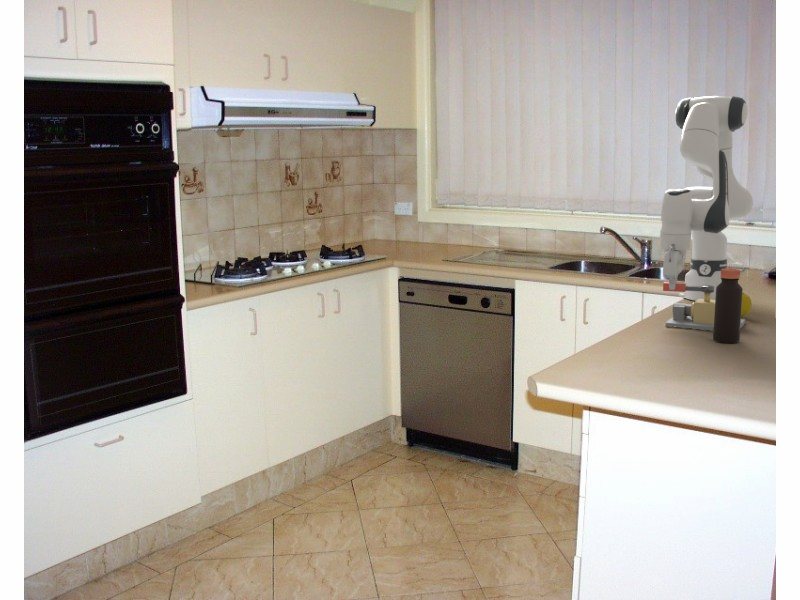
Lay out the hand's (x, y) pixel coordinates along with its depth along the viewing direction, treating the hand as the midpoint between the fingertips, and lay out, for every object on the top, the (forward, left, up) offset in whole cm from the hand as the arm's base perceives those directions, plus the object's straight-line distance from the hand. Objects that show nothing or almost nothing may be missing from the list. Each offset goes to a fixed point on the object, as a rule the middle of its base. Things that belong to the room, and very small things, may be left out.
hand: (672, 289), depth 252 cm
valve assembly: (-4, +9, -11) cm, 15 cm away
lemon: (-20, +17, -11) cm, 28 cm away
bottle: (+15, +19, -11) cm, 26 cm away
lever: (-3, +4, -1) cm, 5 cm away
